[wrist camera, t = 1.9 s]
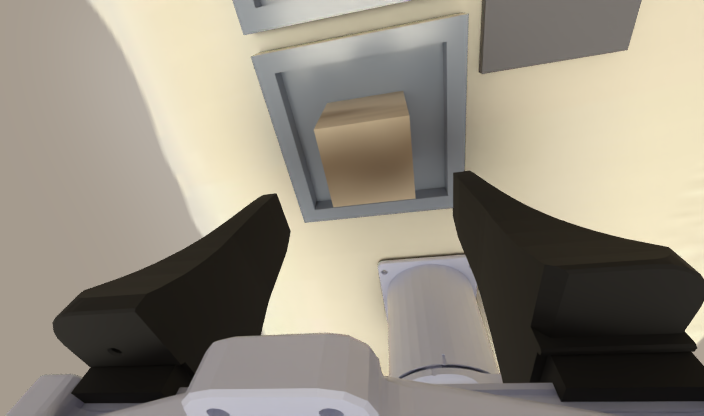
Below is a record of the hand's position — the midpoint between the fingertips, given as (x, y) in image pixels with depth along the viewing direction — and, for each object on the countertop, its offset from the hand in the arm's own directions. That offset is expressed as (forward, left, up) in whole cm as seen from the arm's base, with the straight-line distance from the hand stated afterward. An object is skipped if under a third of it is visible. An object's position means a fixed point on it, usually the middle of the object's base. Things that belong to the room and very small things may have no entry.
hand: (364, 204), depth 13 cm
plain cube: (0, 0, -8) cm, 8 cm away
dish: (0, 0, -8) cm, 8 cm away
